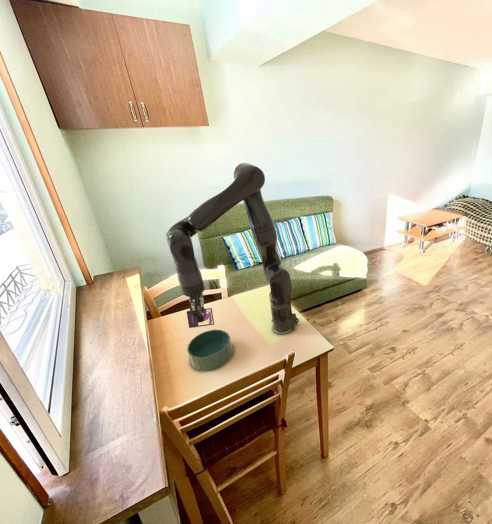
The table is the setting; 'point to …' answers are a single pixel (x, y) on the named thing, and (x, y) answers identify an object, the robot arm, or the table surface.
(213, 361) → the bowl
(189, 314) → the game card
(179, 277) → the robot arm
